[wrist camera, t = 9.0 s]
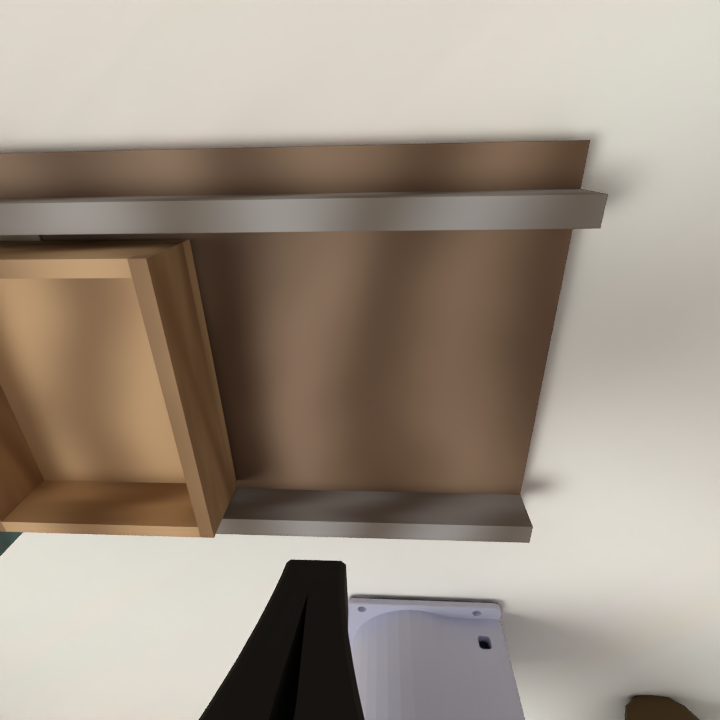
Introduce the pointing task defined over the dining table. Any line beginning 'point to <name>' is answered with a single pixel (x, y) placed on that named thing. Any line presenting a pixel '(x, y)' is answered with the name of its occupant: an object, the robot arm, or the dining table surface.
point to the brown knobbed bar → (656, 709)
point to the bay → (351, 314)
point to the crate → (108, 392)
